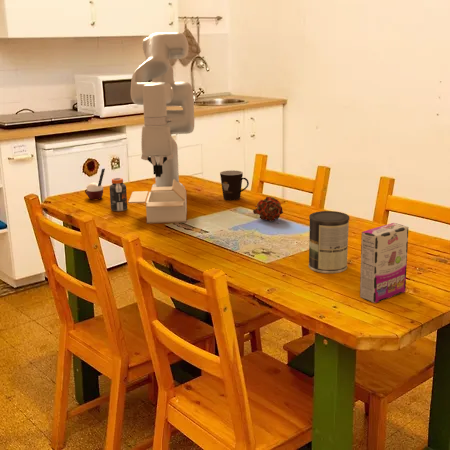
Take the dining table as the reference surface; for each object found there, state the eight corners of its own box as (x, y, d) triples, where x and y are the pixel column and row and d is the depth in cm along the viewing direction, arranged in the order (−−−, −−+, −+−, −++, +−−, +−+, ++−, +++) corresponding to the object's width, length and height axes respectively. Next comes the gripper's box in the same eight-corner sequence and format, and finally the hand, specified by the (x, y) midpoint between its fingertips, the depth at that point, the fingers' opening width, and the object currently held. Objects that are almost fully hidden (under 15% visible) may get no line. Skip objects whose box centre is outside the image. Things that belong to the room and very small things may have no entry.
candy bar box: (389, 286, 156) (393, 221, 151) (406, 292, 152) (410, 226, 148) (357, 297, 150) (360, 230, 145) (374, 304, 146) (377, 235, 141)
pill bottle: (126, 211, 228) (124, 180, 225) (109, 211, 228) (107, 180, 225) (128, 207, 234) (126, 176, 231) (112, 207, 234) (110, 177, 231)
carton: (135, 207, 233) (134, 187, 231) (187, 205, 234) (186, 186, 232) (127, 229, 207) (126, 206, 205) (185, 227, 208) (184, 205, 205)
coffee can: (300, 268, 169) (301, 217, 165) (321, 257, 177) (322, 208, 173) (334, 276, 163) (336, 223, 159) (354, 265, 171) (356, 214, 167)
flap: (184, 190, 226) (173, 180, 225) (185, 189, 226) (174, 178, 224) (183, 200, 212) (171, 189, 210) (184, 199, 211) (172, 188, 210)
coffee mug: (216, 197, 245) (216, 171, 242) (237, 194, 249) (236, 169, 246) (229, 204, 235) (229, 177, 232) (250, 201, 239) (250, 175, 236)
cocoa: (83, 199, 248) (79, 169, 245) (97, 195, 252) (93, 166, 249) (96, 202, 241) (92, 171, 238) (110, 198, 245) (106, 168, 242)
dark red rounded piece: (277, 229, 209) (258, 225, 219) (293, 211, 211) (274, 208, 222) (262, 210, 206) (244, 208, 216) (279, 192, 208) (260, 190, 218)
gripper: (178, 120, 215) (180, 173, 220) (134, 121, 214) (137, 175, 219) (178, 122, 208) (180, 178, 213) (131, 123, 207) (135, 179, 212)
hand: (158, 176), depth 216 cm, fingers closed
